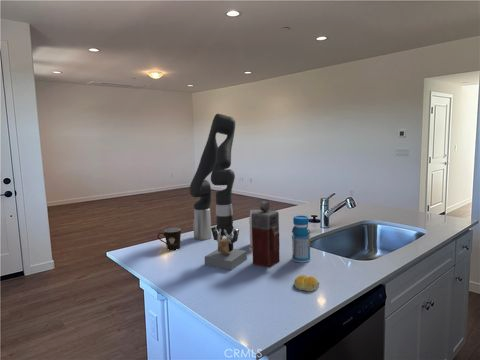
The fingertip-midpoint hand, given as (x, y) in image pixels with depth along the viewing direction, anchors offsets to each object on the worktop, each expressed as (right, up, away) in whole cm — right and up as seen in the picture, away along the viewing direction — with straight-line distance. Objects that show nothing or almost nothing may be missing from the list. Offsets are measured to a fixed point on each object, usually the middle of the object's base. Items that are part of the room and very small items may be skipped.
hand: (225, 249), depth 149 cm
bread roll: (+32, -9, -26) cm, 42 cm away
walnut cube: (0, 0, 0) cm, 1 cm away
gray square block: (0, -6, +1) cm, 6 cm away
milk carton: (+16, -3, +23) cm, 28 cm away
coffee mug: (-30, -4, +23) cm, 38 cm away
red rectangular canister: (+19, -6, -2) cm, 20 cm away
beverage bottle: (+35, -5, +1) cm, 35 cm away
